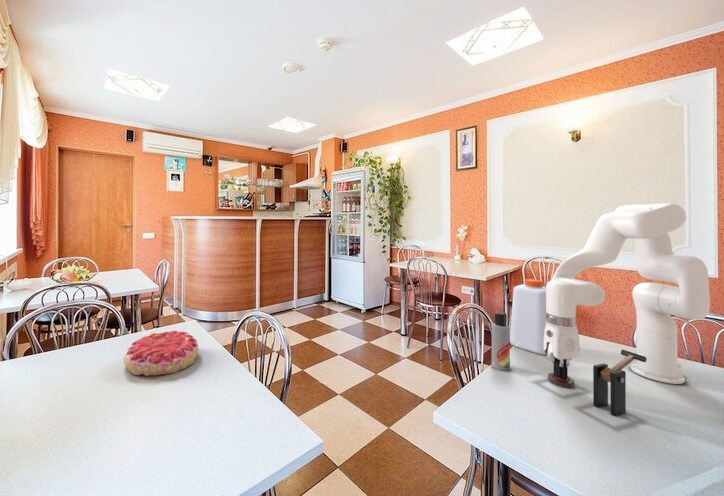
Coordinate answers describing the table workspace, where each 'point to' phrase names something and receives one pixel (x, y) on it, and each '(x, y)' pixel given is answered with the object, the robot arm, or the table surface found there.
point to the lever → (621, 364)
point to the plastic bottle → (529, 316)
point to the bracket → (616, 390)
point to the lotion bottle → (501, 342)
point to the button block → (561, 383)
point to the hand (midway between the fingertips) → (560, 377)
